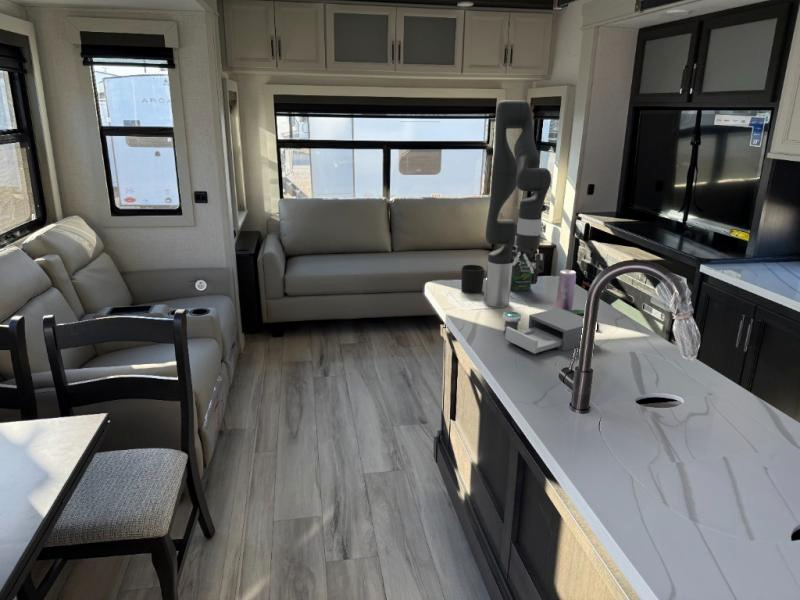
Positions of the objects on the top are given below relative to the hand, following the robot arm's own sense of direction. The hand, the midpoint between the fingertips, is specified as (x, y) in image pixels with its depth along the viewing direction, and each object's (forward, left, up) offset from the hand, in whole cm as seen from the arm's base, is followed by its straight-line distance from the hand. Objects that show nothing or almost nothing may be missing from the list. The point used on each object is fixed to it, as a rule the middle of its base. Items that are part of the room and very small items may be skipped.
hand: (524, 280), depth 184 cm
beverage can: (-9, +32, -19) cm, 38 cm away
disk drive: (+3, +26, -20) cm, 33 cm away
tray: (+10, -3, -18) cm, 20 cm away
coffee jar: (-37, +35, -19) cm, 54 cm away
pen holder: (-45, +16, -19) cm, 51 cm away
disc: (-2, -2, -14) cm, 14 cm away
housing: (+10, +9, -19) cm, 23 cm away
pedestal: (-2, -2, -19) cm, 19 cm away
